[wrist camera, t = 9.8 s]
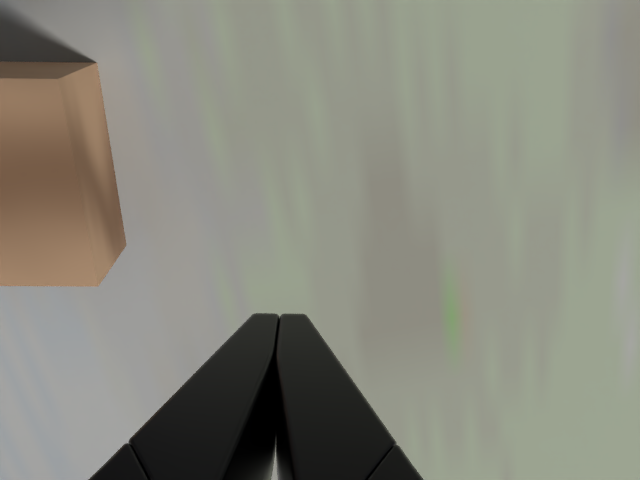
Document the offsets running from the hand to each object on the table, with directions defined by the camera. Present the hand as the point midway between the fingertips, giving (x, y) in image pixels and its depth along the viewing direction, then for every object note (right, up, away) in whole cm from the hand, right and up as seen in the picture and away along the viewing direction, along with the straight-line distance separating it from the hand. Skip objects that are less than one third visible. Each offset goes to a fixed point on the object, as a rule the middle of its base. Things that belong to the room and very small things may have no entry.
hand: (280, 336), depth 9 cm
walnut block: (-9, +4, +9) cm, 13 cm away
